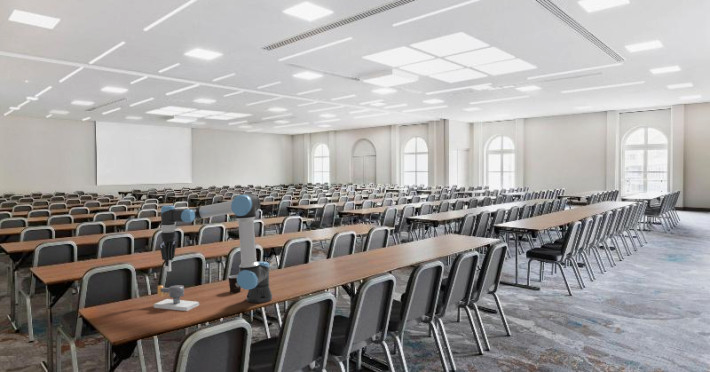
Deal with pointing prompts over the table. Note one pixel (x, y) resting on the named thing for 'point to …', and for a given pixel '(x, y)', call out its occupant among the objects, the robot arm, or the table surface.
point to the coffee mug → (234, 284)
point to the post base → (176, 304)
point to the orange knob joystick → (171, 291)
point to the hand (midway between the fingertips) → (168, 270)
